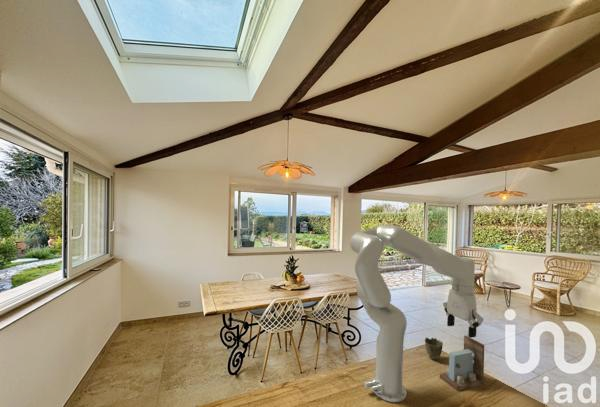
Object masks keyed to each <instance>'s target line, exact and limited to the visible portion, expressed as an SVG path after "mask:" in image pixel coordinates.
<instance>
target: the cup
mask: <svg viewBox="0 0 600 407" xmlns="http://www.w3.org/2000/svg"><path fill="white" fill-rule="evenodd" d="M424 344H425V351H426V353H427V354H428V357H429V358H430V359H431V360H433V361H436V360H438V358H439V357H440V356H441V354H442V351H443V347H444V346H443V345H444V343H443V342H442V341H441V340H440V339H437V338H436V337H431V338H429V337H425V338H424Z"/></svg>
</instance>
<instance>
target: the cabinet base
mask: <svg viewBox="0 0 600 407" xmlns="http://www.w3.org/2000/svg"><path fill="white" fill-rule="evenodd" d="M466 349H469V350H471V351H472V352H474V357H473V360H474V364H473V372H472V373H468V378H467V379H464V376H463V375H458V376H457V381H453V380H451V379H450V378H449V367H447V368H446V370H445V371H446V372H444V373H440V374H439V379H441V380H442V381H444V382H445V383H446V384H447V385H448V386H449V387H452V388H453V389H454V390H455V391H462V390H465V389H469V388H473V387H478V386H482V385H484V384H485V378H484V376H485V375H484V373H485V372H484V371H485V344H483V343H482V342H479V341H478V340H476V339H474V338H473V337H471V338H470V337H469V336H468V335H464V336H463V350H466Z"/></svg>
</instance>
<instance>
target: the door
mask: <svg viewBox="0 0 600 407" xmlns="http://www.w3.org/2000/svg"><path fill="white" fill-rule="evenodd" d="M448 354H449V355H448V356H449V357H448V368H449V378H450V379H451V380H453V381H457V376H458V375H463V376H464V379H467V378H468V373H472V372H473V364H474V360H473V357H474V352H472V351H471V350H469V349H466V350H464V349H461V350H455V351H450V352H448Z"/></svg>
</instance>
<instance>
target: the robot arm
mask: <svg viewBox="0 0 600 407" xmlns="http://www.w3.org/2000/svg"><path fill="white" fill-rule="evenodd" d="M349 246H350V249H351V250H352V251H353V253H355V254H357V256H356V259H355V264H354V272H355V275H356V277H357V281H356V283H355V290H356V294H357V296H358V298H359V300H360V302H361V304H362V306H363V309H364V310H365V312H366V313H367V315H368V317H369V318H370V319H371V320H372V321H373V322H375V324H376V325H377V326H378V327H379V331H378V332H379V333H378V334H377V336H376V352H375V354H376V355H375V356H376V357H375V375H373V376H372V379H371V380H368V381H364V382H363V386H364V388H365V389H368V388H369V389H370V390H371V391H372V392H373V394H374V395H375V396H376V397H378V398H379V399H382V400H383V401H387V402H390V403H400V402H403V401H404V400H406V398H407V392H408V391H407V389H406V386H405V385H403V373H404V372H403V371H404V370H403V369H404V368H403V367H404V366H403V365H404V342H405V341H404V340H405V335H406V329H407V325H408V324H407V323H408V322H407V318H406V316H405V314H404V312H403V311H402V310H401V309H400V308H398V307H397V306H396V305H394V304H393V303H391V302H392V301H391V300H392V294H391V291H390V289H389V288H388V286H387V283H386V281H385V279H384V277H383V276H382V273H381V271H380V269H379V262H380V259H381V257H382V255H383V252H384V246H385V247H388V248H391V249H393V250H395V251H397V252H399V253H401V254H402V255H404V256H406V257H408V258H409V259H410V260H413V261H415V262H417V263H419V264H422V265H425V266H429V267H431V268H432V269H433V271H434V272H436V273H437V274H439V275H442V276H444V277H447V278H451V280H452V281H451V282H450V285H451V288H450V289H449V291H448V295H447V301H445V302H442V305H443V308H444V309H443V310H444V312H445V314H446V316H447V320H446V321H447V322H446V323H447V324H446V325H447V327H454V326H455V322H456V320H455V318H456V317H457V318H458V319H461V320H463V321H466V322H467V323H468V324H469V326H468V334H467V336H468V337H470V338H476V337H477V328H478V327H479V326H481V325H482V323H483V322H484V318H483V317H482V316H481V315H480V314H479V313H478V312H477V298H476V294H474V293H475V292H474V291H475V290H474V288H475V271H476V270H475V268H476V265H475V264H476V262H475V261H474V259H473V258H469V257H466V256H465V257H464V256H456V255H455V254H452V253H451V252H449V251H446V250H445V249H442V248H440V247H438V246H436V245H434V244H432V243H430V242H428V241H425V240H424V239H422V238H420V237H419V236H417V235H416V234H413V233H412V232H410V231H408V230H407V229H405V228H403V227H400V226H397V225H390V224H382V225H378V226H376V227H375V226H374V227H372V228H369V229H368V228H367V229H365V230H361V231H357V232H355V233H354V234H352V236H351V237H350V240H349Z"/></svg>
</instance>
